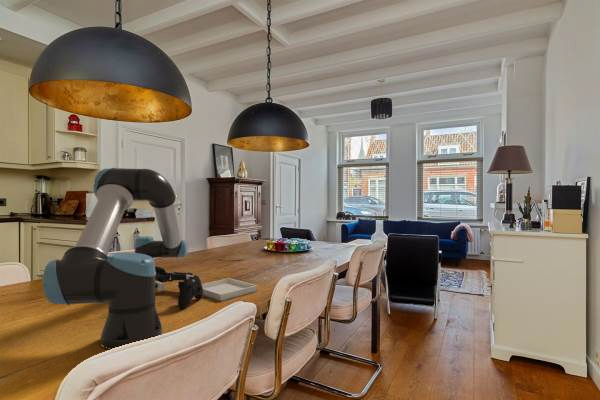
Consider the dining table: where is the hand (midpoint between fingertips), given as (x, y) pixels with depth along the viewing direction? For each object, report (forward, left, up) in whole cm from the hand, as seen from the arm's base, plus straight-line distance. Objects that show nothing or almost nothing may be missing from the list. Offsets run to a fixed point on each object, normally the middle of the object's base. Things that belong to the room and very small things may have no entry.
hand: (179, 283), depth 129 cm
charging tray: (+18, -5, -6) cm, 19 cm away
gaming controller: (0, -9, -6) cm, 11 cm away
